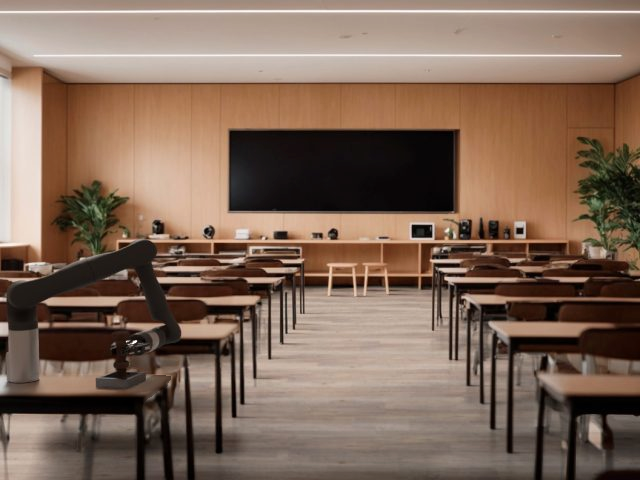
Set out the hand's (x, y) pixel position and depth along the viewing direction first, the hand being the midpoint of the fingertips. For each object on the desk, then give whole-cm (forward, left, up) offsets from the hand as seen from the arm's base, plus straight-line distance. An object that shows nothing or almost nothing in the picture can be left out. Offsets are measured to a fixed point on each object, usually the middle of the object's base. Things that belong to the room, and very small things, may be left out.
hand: (116, 352), depth 225 cm
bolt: (0, +3, -9) cm, 10 cm away
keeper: (0, +3, -11) cm, 11 cm away
